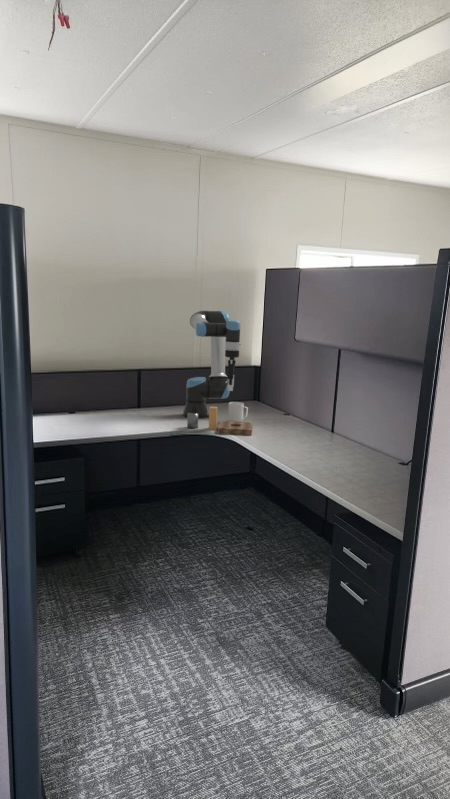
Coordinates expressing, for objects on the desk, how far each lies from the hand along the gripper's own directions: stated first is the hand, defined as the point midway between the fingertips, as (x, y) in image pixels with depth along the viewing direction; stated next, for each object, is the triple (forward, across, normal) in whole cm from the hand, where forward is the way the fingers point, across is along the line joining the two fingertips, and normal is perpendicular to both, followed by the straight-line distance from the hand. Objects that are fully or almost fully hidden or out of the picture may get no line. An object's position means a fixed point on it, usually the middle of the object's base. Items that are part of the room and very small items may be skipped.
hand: (230, 388), depth 294 cm
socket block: (+23, -1, -4) cm, 23 cm away
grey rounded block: (+23, +1, +20) cm, 31 cm away
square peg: (+23, +1, +9) cm, 25 cm away
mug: (+23, +20, -4) cm, 31 cm away
